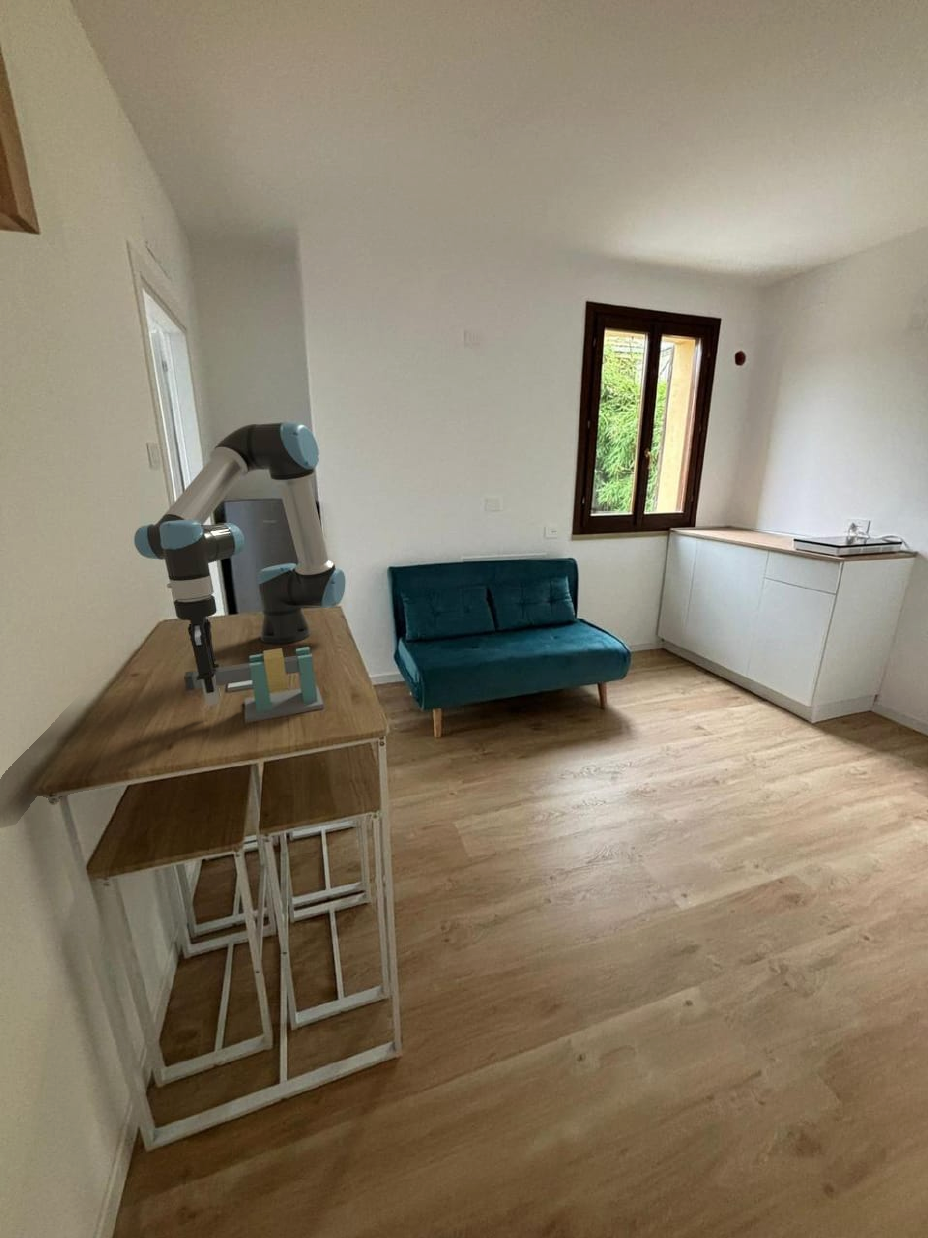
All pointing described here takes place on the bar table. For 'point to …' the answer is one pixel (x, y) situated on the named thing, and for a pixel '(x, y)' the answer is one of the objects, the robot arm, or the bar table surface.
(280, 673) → the block
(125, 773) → the bar table surface
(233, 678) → the shaft
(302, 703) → the block
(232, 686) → the hard drive
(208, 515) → the robot arm
